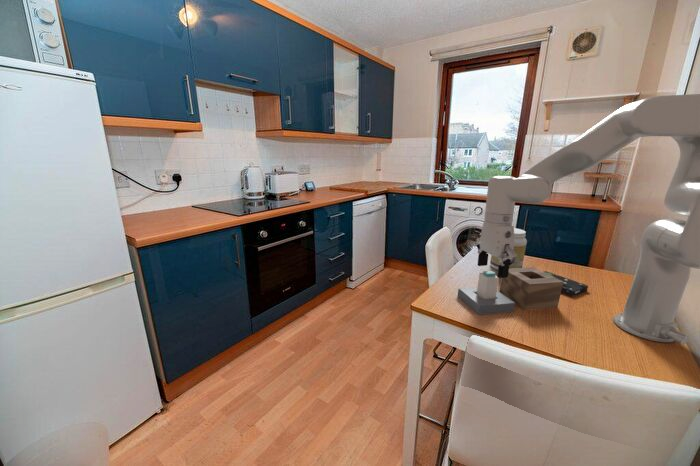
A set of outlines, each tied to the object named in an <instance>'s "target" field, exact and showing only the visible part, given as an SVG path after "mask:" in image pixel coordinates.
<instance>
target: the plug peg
mask: <svg viewBox="0 0 700 466" xmlns="http://www.w3.org/2000/svg"><path fill="white" fill-rule="evenodd" d="M499 279H500V278H498V277H497V273H496V272H495V271H492V270H484V271H483V272H479V275H478V281H477V286H476V287H477V295H478V296H479V297H480V298H482V299H483V300H486V299H495V298H496V292H497V291H498V286H499Z"/></svg>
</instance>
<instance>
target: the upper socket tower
mask: <svg viewBox="0 0 700 466" xmlns="http://www.w3.org/2000/svg"><path fill="white" fill-rule="evenodd" d="M500 279H501V280H500V284H499V290H498V291H499V292H500V293H502V294H503V295H504V296H506V297H507V298H509V299H510V300H512V301H513V302H515V305H517V306H518V307H519V308H521V309H522V310H524V311H533V310H535V311H536V310H544V309H554V308H558V307H559V302H560V299H561V295H562V293H561V291H562V287H563V281H561V280H559V279H557V278H555V277H553V276H551V275H549V274H547V273H545V271H542V270H540V269H538V268H536V267H534V266H529V267H527V266H526V267H522V268H511V269H509V272H508V277H506V278H500Z"/></svg>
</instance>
